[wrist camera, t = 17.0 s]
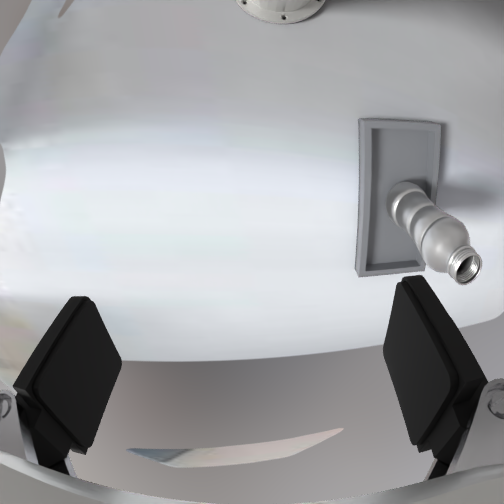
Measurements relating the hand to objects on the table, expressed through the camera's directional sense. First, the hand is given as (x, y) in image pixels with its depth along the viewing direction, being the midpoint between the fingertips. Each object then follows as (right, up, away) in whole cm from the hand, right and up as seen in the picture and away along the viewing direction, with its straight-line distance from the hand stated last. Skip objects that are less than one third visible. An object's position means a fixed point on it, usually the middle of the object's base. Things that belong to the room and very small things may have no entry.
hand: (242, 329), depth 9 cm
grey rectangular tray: (+22, +10, +35) cm, 43 cm away
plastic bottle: (+23, +10, +35) cm, 43 cm away
